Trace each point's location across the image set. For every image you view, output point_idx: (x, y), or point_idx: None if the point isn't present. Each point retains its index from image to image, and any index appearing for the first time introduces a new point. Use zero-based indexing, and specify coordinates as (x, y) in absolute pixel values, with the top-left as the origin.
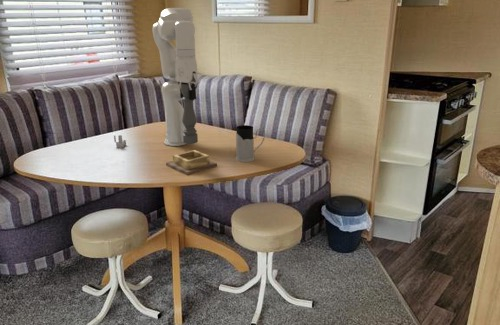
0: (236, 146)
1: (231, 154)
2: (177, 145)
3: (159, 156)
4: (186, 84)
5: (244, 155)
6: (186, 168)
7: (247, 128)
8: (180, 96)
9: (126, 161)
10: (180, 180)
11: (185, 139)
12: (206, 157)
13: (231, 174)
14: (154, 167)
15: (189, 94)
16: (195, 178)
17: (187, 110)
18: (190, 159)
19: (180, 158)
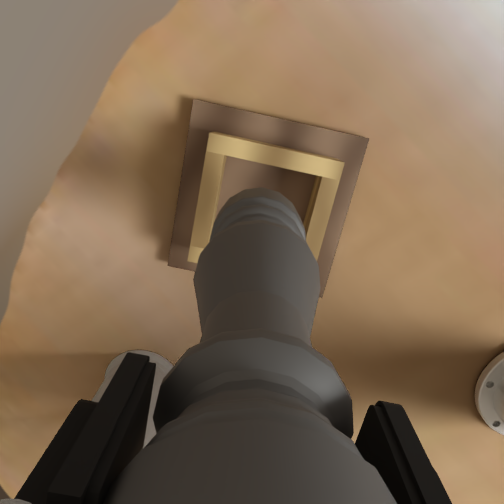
0: None
1: None
2: (496, 357)
3: (479, 208)
4: None
5: (111, 373)
6: (226, 134)
7: None
8: (406, 415)
9: None
10: (167, 27)
11: (256, 192)
12: (190, 243)
13: (55, 220)
14: (394, 79)
15: (94, 414)
16: (133, 91)
17: (230, 288)
18: (221, 166)
19: (274, 147)
